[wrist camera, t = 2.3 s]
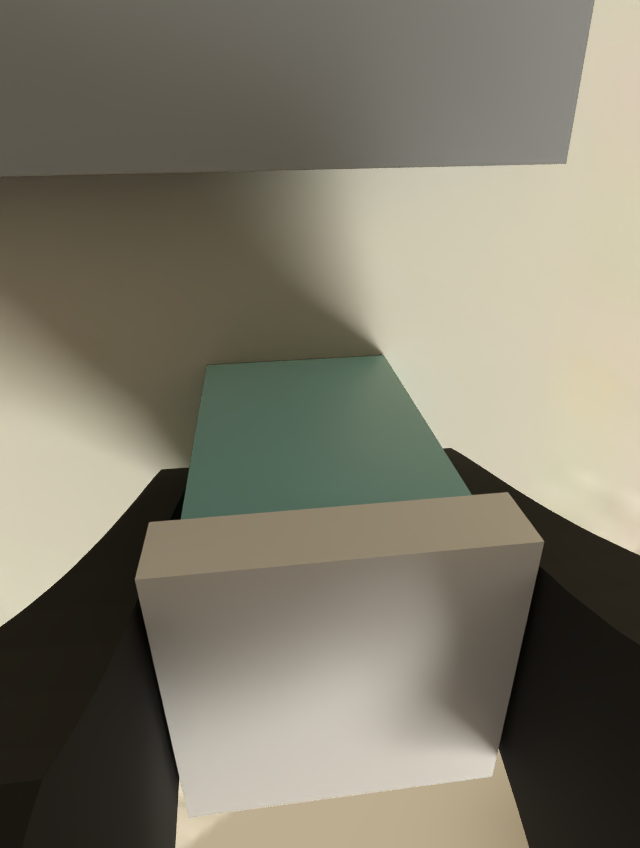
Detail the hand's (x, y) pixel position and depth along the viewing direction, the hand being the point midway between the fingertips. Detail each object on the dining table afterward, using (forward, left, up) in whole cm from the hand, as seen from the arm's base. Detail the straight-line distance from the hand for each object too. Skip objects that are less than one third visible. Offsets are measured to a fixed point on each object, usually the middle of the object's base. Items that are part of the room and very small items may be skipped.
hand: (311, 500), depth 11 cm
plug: (0, 0, -3) cm, 3 cm away
